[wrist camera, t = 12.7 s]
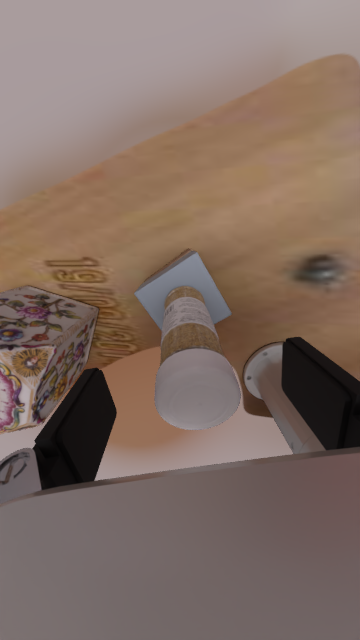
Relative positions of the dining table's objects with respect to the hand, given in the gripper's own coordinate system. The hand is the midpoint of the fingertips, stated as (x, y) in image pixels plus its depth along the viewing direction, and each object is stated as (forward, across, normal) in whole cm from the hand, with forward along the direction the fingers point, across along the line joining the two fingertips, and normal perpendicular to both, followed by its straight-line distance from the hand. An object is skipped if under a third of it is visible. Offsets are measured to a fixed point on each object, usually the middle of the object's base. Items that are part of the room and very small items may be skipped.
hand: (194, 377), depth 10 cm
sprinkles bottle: (+13, 0, 0) cm, 13 cm away
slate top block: (+18, 0, 0) cm, 18 cm away
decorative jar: (+23, +21, +3) cm, 32 cm away
